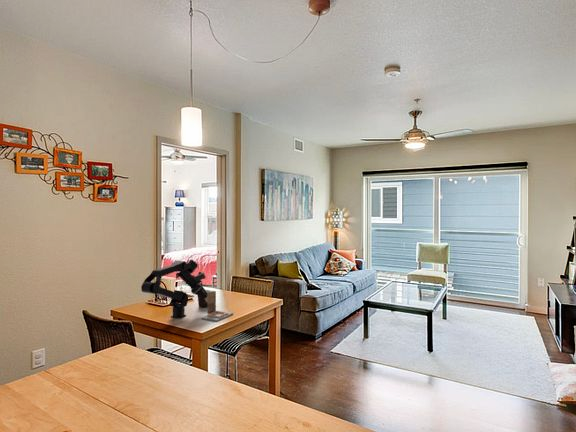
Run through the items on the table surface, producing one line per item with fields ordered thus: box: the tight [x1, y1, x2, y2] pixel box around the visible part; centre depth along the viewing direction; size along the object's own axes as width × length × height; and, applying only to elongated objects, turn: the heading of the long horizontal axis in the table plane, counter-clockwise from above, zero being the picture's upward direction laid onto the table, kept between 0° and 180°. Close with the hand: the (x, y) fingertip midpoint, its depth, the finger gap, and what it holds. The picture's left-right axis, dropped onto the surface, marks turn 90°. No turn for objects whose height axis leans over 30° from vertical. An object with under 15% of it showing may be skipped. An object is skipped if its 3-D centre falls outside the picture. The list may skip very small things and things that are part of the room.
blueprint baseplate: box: [201, 310, 234, 323], centre depth 205 cm, size 16×11×2 cm, turn 154°
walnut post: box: [206, 290, 217, 314], centre depth 213 cm, size 5×5×13 cm
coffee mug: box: [197, 289, 211, 309], centre depth 227 cm, size 12×9×10 cm
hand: (206, 295), depth 213 cm, fingers open, 9 cm apart
